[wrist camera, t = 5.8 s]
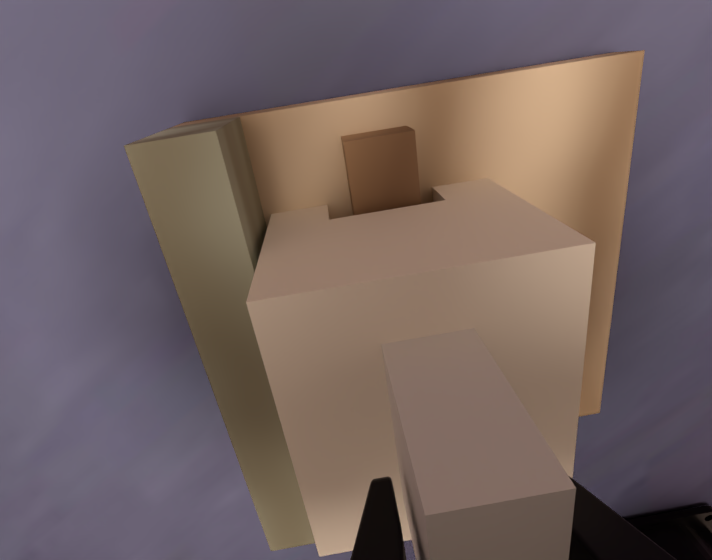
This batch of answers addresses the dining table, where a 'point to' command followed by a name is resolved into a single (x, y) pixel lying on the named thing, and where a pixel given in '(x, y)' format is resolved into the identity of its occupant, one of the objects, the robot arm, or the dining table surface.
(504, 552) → the cabinet block
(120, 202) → the dining table surface
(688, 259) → the dining table surface
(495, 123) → the cleat board
